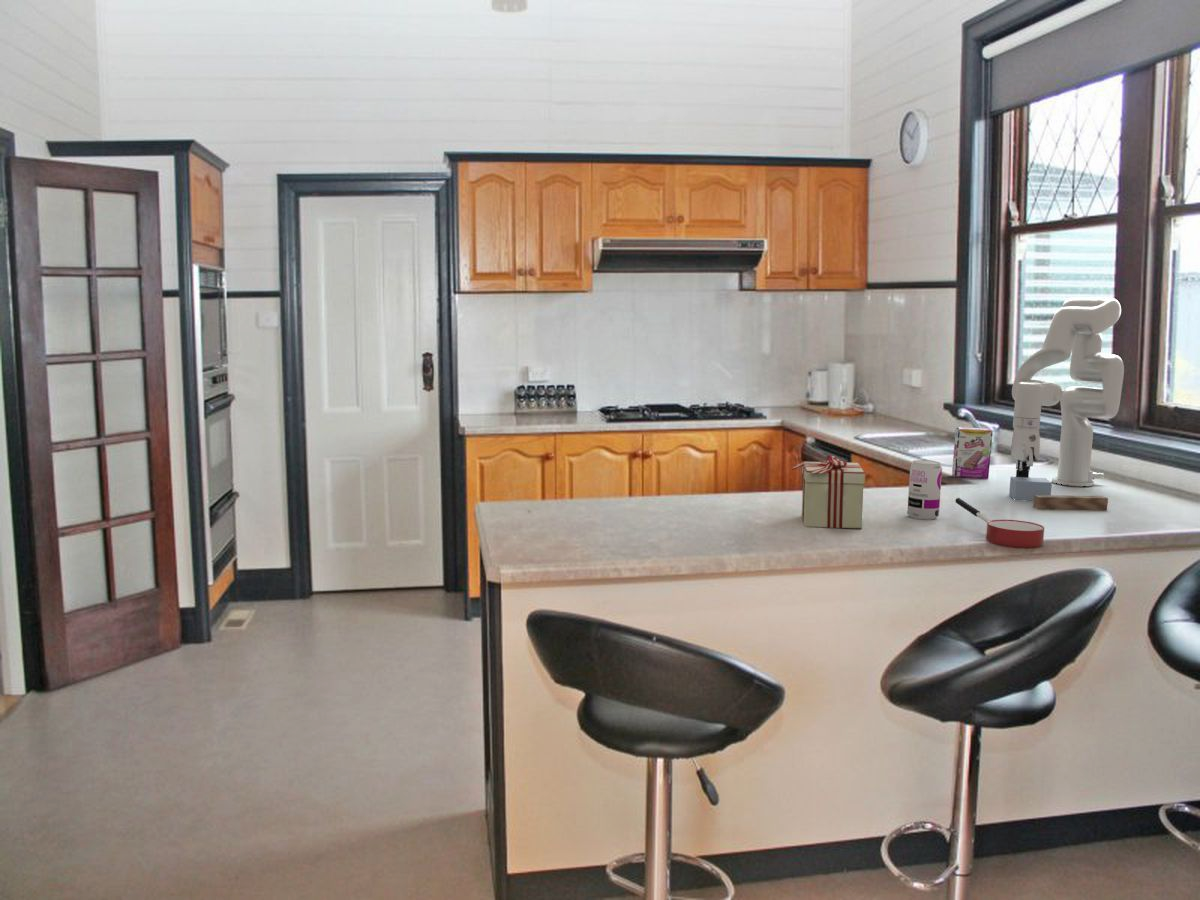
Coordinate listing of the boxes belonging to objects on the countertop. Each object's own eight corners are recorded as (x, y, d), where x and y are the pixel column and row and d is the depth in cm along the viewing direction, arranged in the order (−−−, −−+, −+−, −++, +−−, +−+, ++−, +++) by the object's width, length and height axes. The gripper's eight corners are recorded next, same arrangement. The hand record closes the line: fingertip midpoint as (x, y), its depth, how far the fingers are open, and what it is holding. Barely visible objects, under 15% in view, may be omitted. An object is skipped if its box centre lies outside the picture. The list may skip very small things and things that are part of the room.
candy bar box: (954, 477, 362) (958, 428, 359) (951, 475, 366) (954, 426, 364) (989, 479, 360) (993, 429, 358) (985, 476, 365) (989, 428, 363)
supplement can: (939, 515, 297) (942, 461, 295) (937, 521, 290) (941, 465, 288) (908, 513, 300) (911, 459, 298) (906, 518, 292) (909, 463, 290)
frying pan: (927, 522, 288) (929, 498, 287) (968, 520, 293) (970, 496, 292) (1010, 550, 258) (1012, 523, 258) (1054, 547, 263) (1057, 521, 262)
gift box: (785, 515, 293) (788, 451, 290) (854, 517, 292) (858, 453, 290) (794, 529, 276) (798, 461, 274) (868, 531, 276) (872, 463, 273)
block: (1043, 497, 329) (1045, 478, 329) (1050, 502, 322) (1051, 482, 321) (1009, 496, 331) (1010, 476, 330) (1014, 501, 323) (1016, 481, 322)
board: (1100, 507, 314) (1101, 495, 314) (1106, 510, 311) (1108, 498, 310) (1033, 507, 313) (1033, 495, 313) (1038, 509, 310) (1039, 497, 309)
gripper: (1049, 426, 322) (1044, 487, 325) (1027, 420, 337) (1023, 479, 339) (1025, 426, 322) (1020, 487, 324) (1003, 420, 336) (999, 478, 339)
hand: (1021, 483), depth 332 cm, fingers closed
